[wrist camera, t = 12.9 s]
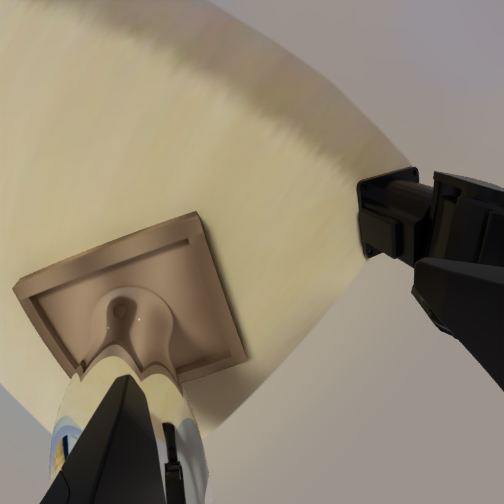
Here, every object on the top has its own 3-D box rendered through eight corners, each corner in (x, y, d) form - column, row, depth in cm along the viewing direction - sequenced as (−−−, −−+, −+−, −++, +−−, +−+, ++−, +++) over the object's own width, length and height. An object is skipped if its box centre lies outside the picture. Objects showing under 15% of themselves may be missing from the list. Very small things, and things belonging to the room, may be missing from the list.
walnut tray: (195, 211, 19) (198, 217, 18) (242, 348, 24) (247, 360, 23) (20, 278, 17) (12, 288, 16) (94, 393, 22) (92, 406, 21)
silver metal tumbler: (196, 339, 22) (252, 533, 8) (120, 371, 21) (124, 554, 8) (150, 262, 19) (156, 494, 5) (67, 304, 18) (8, 505, 5)
